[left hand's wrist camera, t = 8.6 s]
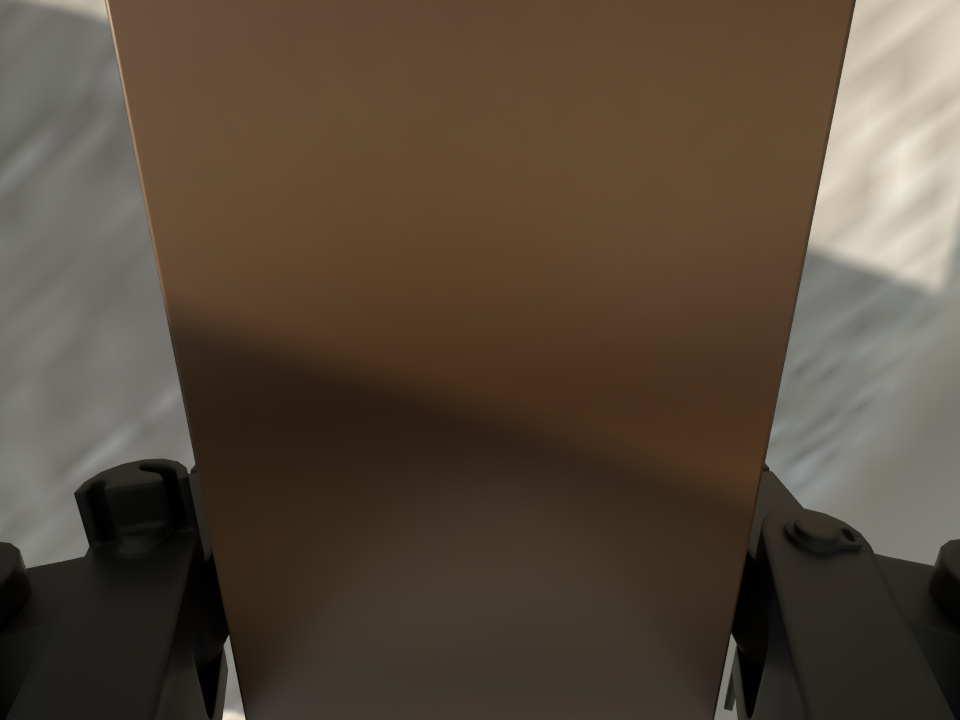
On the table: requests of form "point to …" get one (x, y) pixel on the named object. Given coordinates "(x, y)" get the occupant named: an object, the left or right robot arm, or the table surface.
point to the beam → (480, 332)
